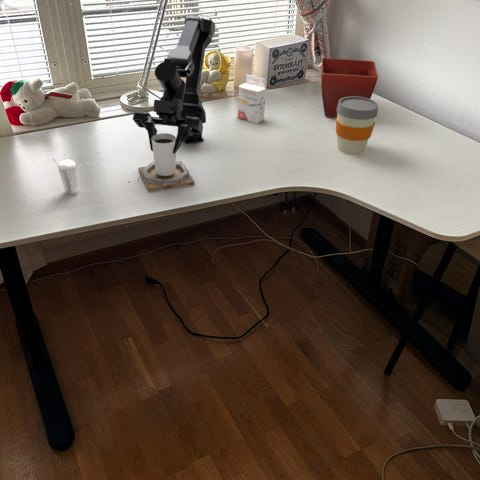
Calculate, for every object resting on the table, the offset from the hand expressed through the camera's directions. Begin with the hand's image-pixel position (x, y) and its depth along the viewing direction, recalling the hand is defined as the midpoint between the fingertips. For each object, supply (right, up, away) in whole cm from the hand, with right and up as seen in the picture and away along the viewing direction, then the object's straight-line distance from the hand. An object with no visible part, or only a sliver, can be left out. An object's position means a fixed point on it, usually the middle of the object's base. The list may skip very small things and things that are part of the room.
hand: (162, 151), depth 143 cm
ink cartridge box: (+25, +19, +43) cm, 53 cm away
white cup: (0, -5, +5) cm, 7 cm away
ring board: (0, -6, +6) cm, 9 cm away
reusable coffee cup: (+57, +5, +26) cm, 63 cm away
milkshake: (-25, -11, -2) cm, 27 cm away
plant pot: (+59, +23, +51) cm, 81 cm away
